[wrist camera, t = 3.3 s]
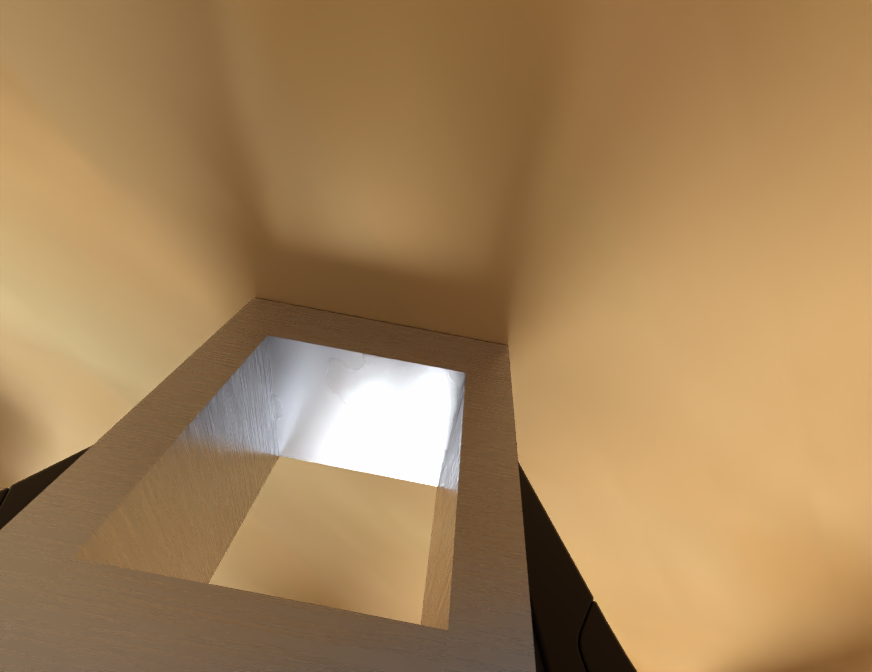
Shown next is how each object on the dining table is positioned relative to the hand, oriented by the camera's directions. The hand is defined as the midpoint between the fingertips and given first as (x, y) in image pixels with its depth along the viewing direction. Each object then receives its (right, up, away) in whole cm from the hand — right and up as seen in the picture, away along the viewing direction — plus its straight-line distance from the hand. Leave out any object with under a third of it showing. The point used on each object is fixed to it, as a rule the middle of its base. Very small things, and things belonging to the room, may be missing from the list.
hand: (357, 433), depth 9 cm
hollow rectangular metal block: (0, +1, +2) cm, 2 cm away
